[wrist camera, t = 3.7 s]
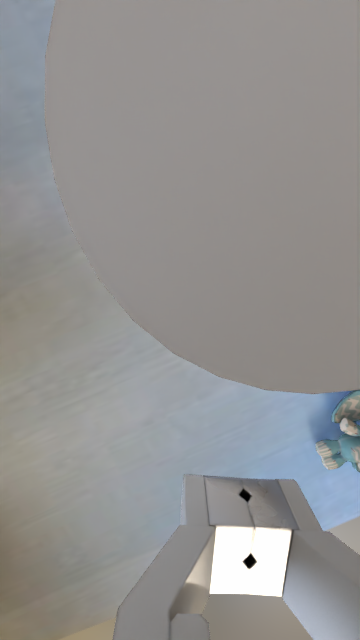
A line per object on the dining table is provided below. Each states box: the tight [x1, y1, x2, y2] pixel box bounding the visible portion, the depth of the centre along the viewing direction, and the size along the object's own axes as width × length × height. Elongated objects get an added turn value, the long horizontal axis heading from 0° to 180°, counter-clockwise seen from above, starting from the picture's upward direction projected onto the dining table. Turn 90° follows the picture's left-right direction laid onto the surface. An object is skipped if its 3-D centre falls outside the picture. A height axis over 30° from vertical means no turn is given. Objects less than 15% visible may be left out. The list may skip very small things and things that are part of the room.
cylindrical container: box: [45, 0, 360, 394], centre depth 16 cm, size 7×7×25 cm
